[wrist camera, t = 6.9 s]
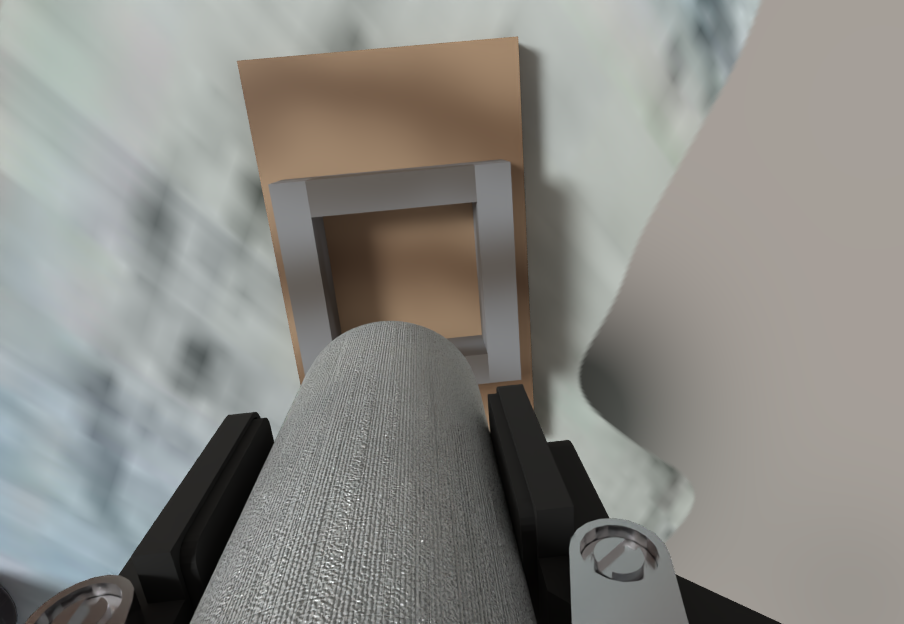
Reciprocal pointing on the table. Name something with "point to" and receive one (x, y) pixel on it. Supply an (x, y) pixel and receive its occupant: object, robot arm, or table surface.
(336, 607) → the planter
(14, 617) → the camera lens
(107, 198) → the table surface
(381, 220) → the socket board
